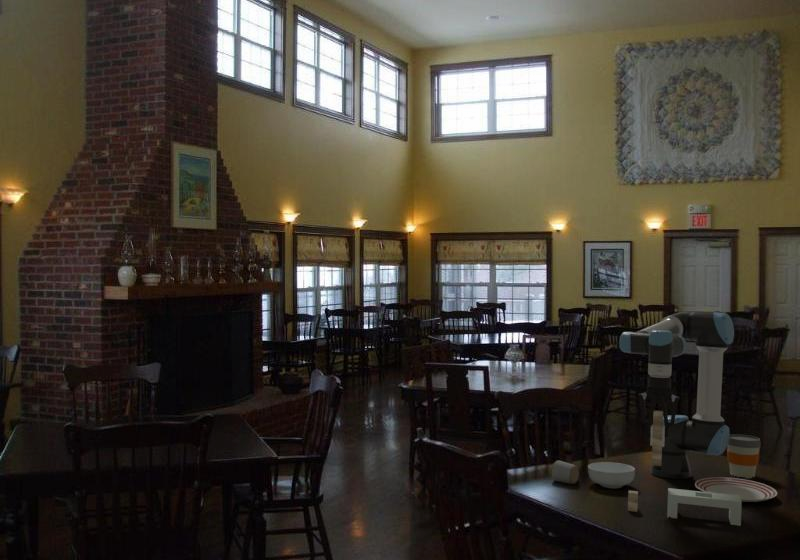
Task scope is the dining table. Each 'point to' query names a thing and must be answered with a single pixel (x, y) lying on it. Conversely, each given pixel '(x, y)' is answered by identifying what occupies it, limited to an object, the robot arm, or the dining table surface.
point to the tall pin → (657, 438)
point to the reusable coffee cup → (743, 455)
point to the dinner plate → (737, 488)
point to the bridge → (705, 502)
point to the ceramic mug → (565, 472)
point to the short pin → (633, 501)
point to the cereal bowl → (611, 474)
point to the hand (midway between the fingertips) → (657, 445)
